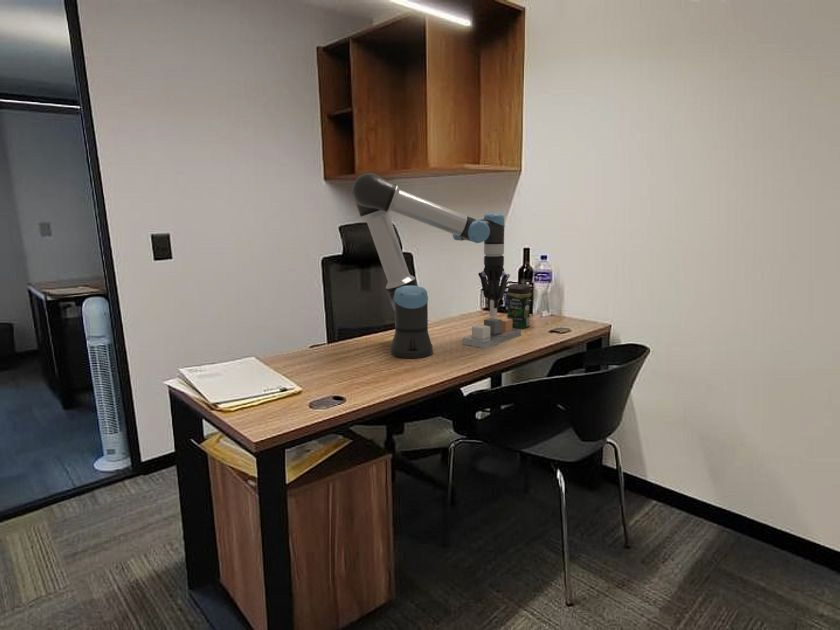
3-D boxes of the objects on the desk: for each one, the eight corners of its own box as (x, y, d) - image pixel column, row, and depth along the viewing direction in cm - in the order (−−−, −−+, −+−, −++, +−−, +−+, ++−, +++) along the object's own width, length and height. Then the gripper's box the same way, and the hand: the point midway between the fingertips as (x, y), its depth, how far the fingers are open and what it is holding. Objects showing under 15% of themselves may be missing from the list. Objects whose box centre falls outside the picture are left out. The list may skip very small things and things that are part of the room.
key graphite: (494, 334, 198) (494, 321, 197) (483, 332, 202) (483, 319, 201) (501, 331, 202) (501, 319, 201) (490, 330, 205) (491, 317, 204)
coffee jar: (503, 326, 225) (504, 284, 221) (513, 323, 230) (514, 282, 227) (523, 329, 218) (524, 286, 215) (532, 326, 224) (534, 284, 220)
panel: (484, 348, 190) (484, 341, 189) (462, 344, 196) (462, 337, 196) (520, 335, 209) (520, 329, 208) (499, 331, 215) (499, 325, 215)
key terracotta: (505, 333, 205) (505, 321, 204) (494, 331, 208) (495, 319, 207) (512, 331, 208) (512, 319, 207) (501, 329, 212) (501, 317, 211)
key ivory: (482, 341, 193) (482, 328, 192) (471, 339, 196) (471, 326, 195) (490, 339, 197) (490, 326, 196) (479, 337, 200) (479, 324, 199)
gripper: (514, 255, 194) (513, 316, 199) (485, 253, 203) (484, 312, 208) (503, 256, 189) (502, 319, 194) (474, 255, 197) (474, 315, 202)
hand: (493, 315), depth 201 cm, fingers closed
